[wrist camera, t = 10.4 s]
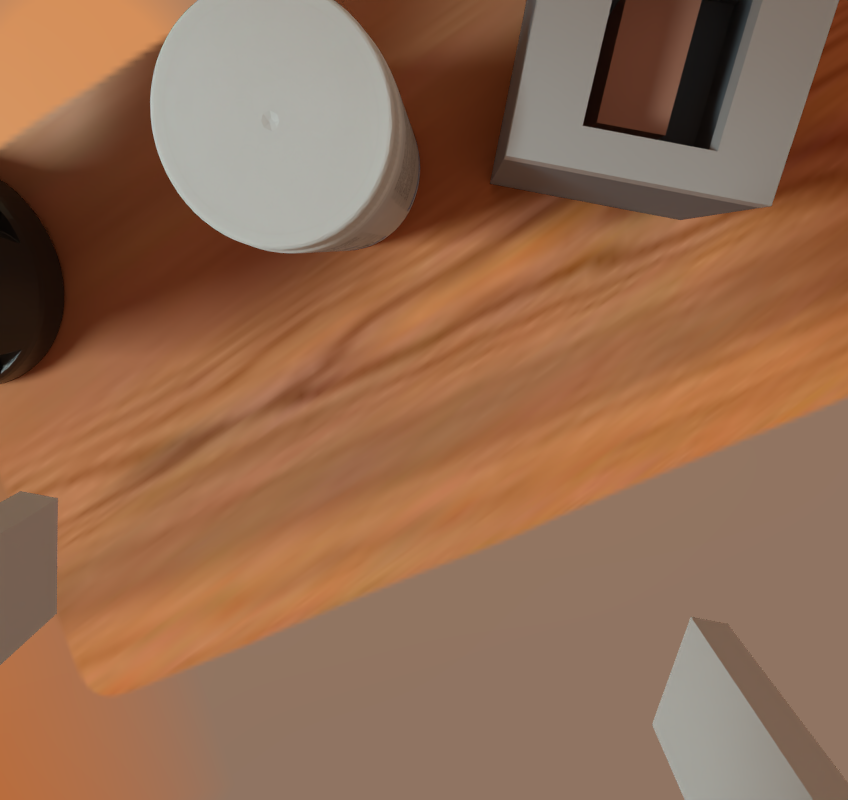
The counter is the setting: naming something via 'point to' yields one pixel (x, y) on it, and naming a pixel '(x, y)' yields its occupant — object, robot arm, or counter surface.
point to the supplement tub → (283, 125)
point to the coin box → (690, 119)
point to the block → (641, 66)
